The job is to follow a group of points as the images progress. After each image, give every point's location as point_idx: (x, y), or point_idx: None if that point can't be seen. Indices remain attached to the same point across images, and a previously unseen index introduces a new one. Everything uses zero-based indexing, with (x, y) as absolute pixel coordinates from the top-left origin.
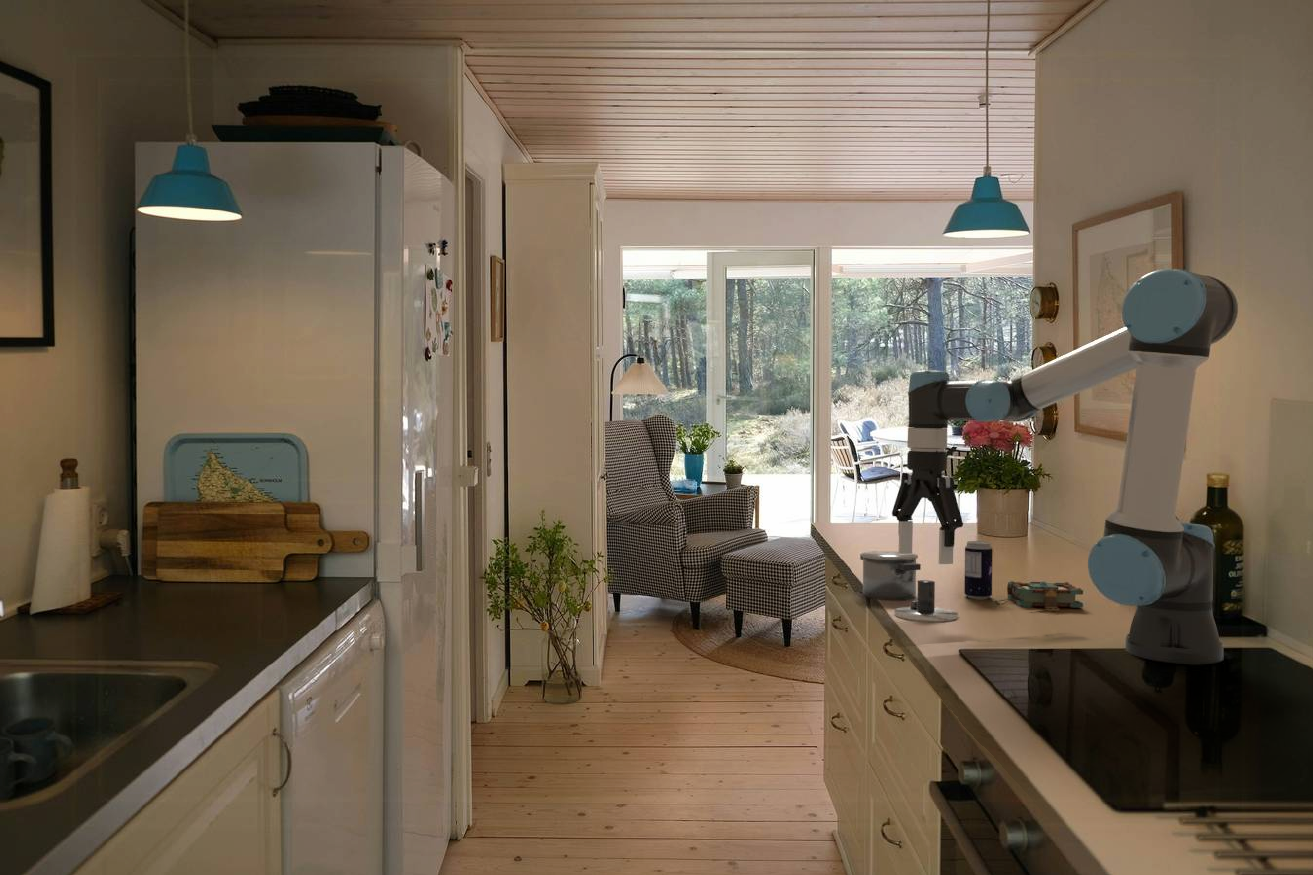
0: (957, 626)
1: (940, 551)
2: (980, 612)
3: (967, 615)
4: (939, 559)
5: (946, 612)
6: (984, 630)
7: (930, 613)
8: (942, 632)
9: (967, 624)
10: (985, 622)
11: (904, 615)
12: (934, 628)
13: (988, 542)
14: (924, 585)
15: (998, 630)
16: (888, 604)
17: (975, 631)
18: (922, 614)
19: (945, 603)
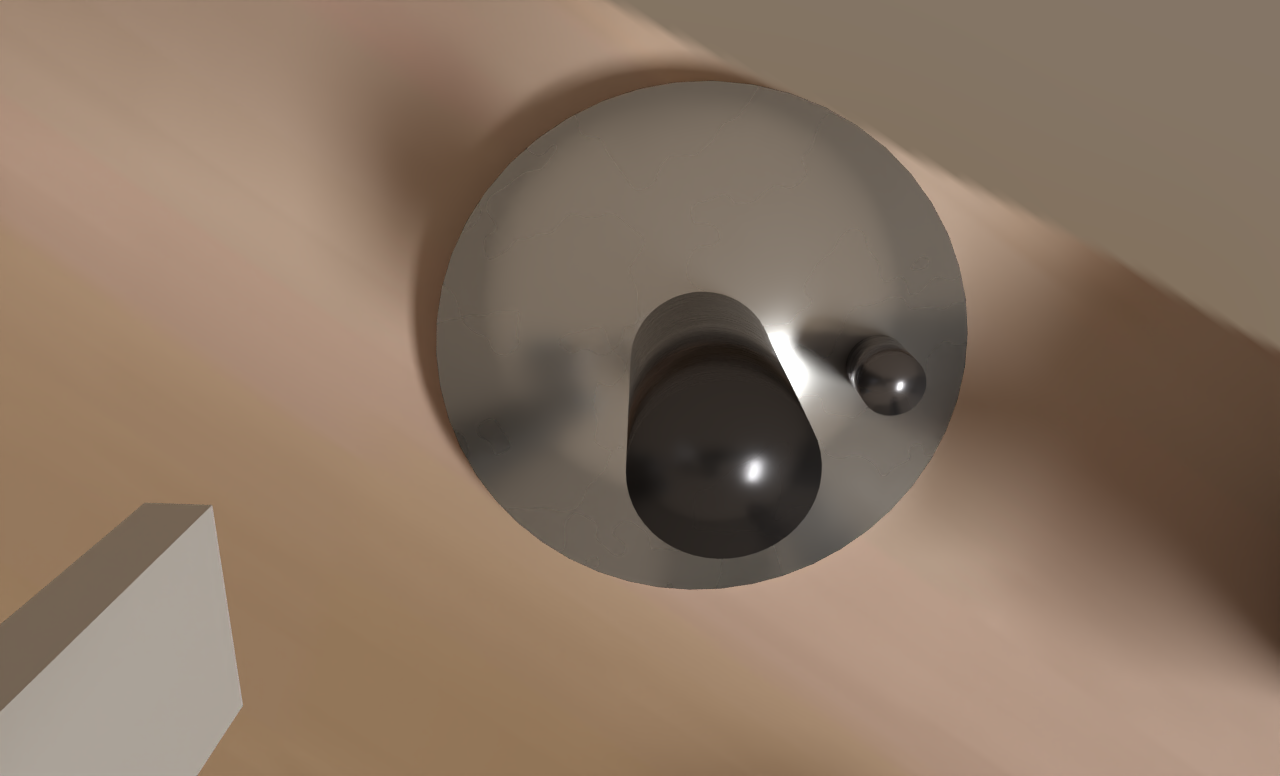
0: (247, 325)
1: (16, 630)
2: (658, 770)
3: (597, 636)
4: (146, 540)
5: (625, 500)
6: (71, 421)
7: (629, 355)
8: (44, 55)
9: (301, 441)
10: (336, 598)
11: (646, 89)
12: (211, 93)
13: None
14: (656, 392)
15: (57, 510)
16: (1244, 349)
17: (46, 337)
18: (620, 268)
19: (1036, 757)
